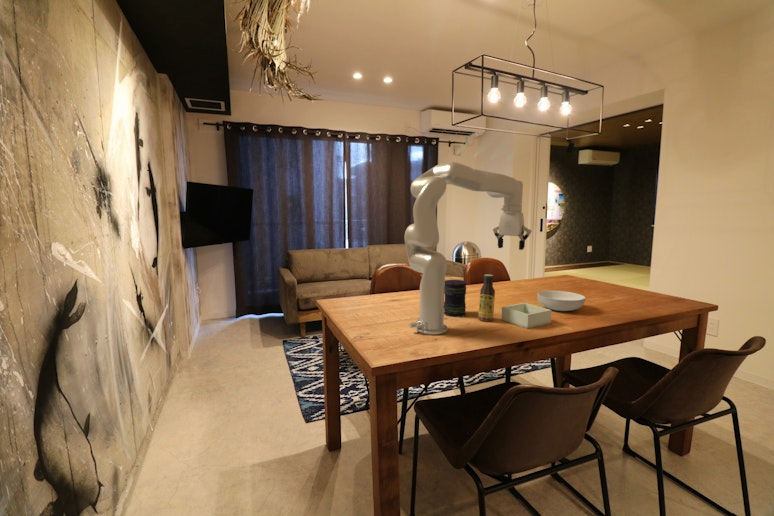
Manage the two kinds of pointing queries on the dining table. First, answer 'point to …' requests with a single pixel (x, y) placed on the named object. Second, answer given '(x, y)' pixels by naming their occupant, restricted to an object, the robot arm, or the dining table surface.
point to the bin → (526, 315)
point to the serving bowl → (560, 300)
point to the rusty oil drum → (454, 298)
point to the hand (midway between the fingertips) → (510, 248)
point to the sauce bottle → (487, 299)
